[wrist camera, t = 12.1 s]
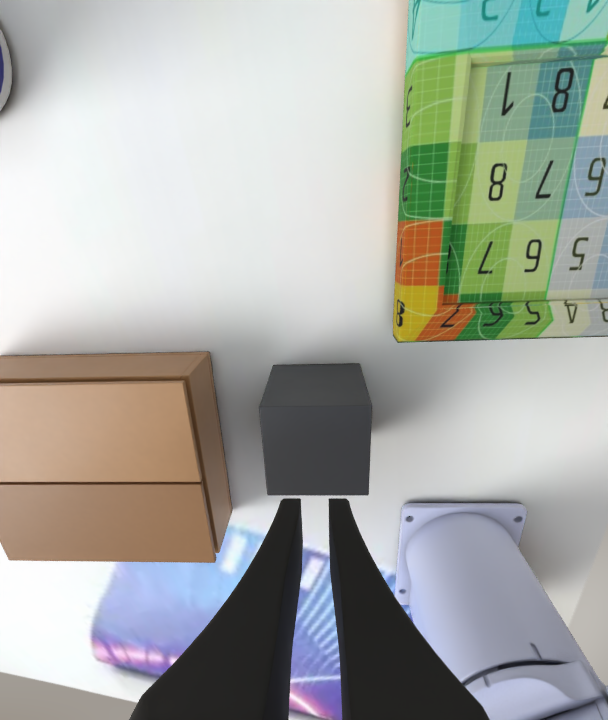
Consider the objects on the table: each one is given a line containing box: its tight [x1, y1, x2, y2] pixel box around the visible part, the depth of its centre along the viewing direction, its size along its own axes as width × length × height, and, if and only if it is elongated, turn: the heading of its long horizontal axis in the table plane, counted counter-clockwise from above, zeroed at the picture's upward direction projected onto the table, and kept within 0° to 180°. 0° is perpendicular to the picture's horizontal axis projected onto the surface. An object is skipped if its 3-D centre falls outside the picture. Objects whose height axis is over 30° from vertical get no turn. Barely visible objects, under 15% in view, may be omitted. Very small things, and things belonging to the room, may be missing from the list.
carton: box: [0, 352, 232, 553], centre depth 20 cm, size 12×13×4 cm
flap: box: [0, 481, 216, 563], centre depth 20 cm, size 6×13×1 cm, turn 92°
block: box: [259, 364, 372, 495], centre depth 18 cm, size 5×5×5 cm
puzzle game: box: [393, 0, 608, 343], centre depth 13 cm, size 12×5×20 cm
